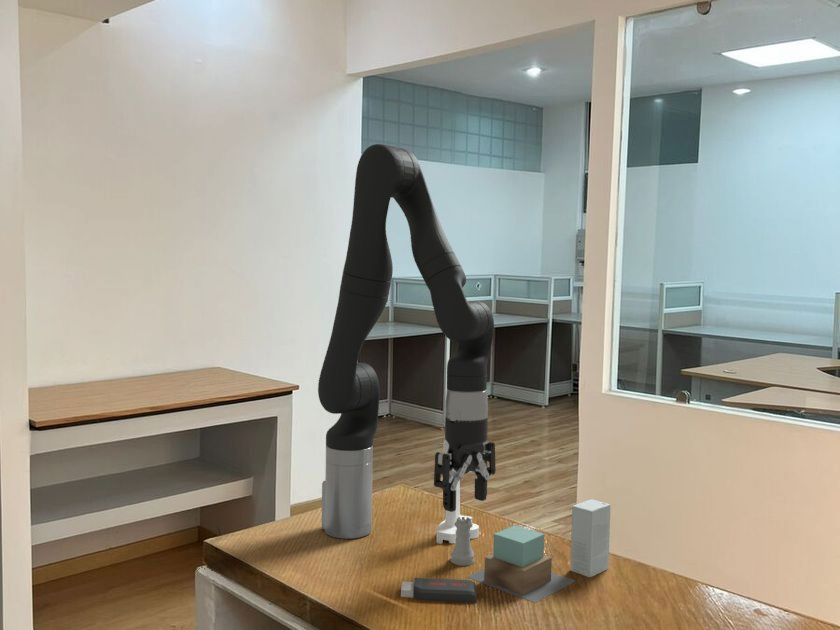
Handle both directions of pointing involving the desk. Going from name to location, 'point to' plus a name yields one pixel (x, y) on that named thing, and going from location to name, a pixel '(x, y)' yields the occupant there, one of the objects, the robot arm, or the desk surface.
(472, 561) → the rook chess piece
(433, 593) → the usb drive
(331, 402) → the robot arm
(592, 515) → the skincare box
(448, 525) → the white ball-topped post
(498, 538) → the teal block
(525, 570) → the walnut block
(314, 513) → the desk surface
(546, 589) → the mat
